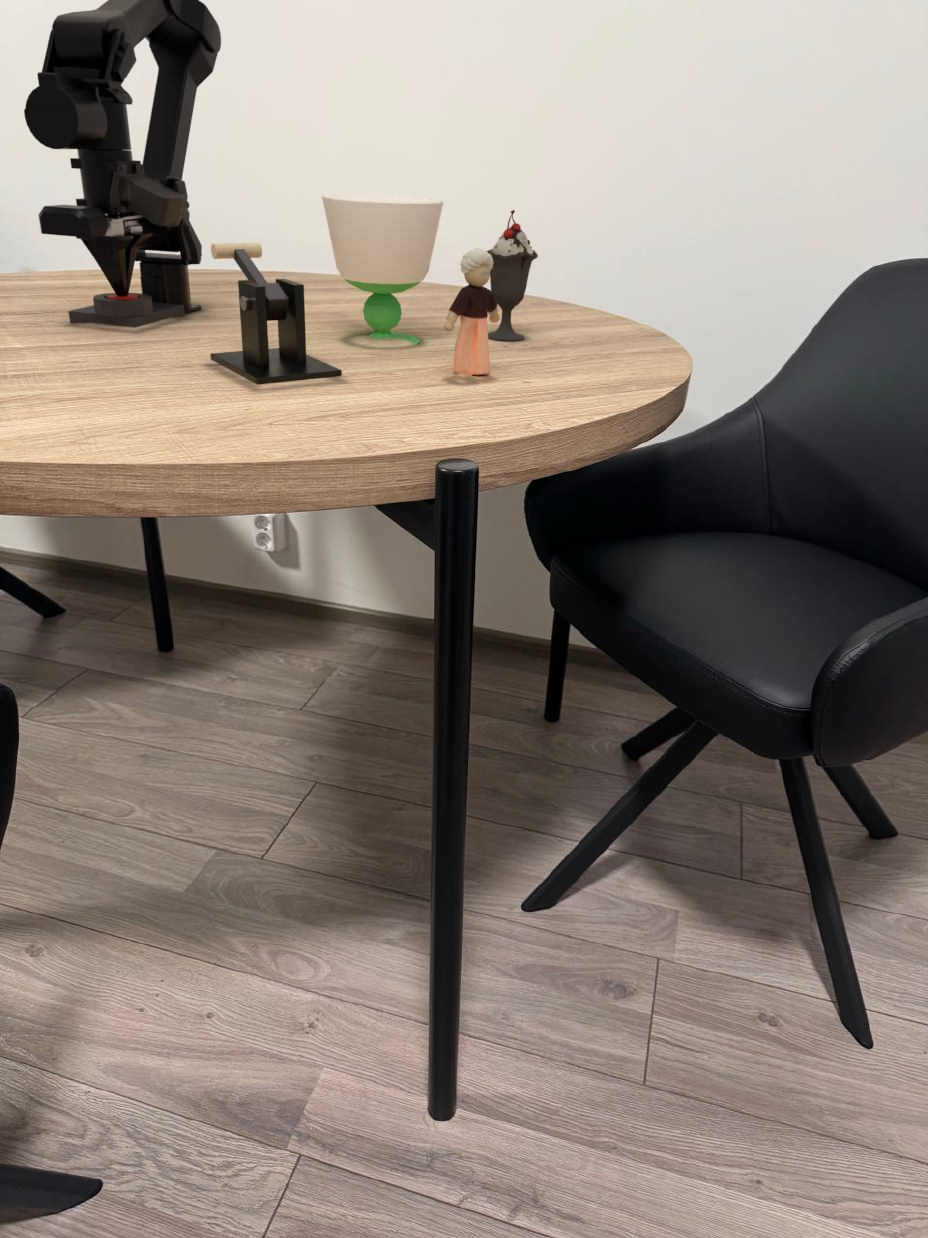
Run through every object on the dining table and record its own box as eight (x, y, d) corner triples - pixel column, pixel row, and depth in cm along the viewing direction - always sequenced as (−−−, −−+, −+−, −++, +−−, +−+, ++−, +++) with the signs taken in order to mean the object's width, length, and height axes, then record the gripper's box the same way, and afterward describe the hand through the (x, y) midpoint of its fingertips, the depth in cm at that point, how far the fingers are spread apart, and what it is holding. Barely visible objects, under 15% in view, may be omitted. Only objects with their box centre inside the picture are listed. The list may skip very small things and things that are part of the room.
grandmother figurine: (468, 388, 91) (475, 252, 85) (436, 381, 93) (440, 248, 87) (506, 375, 97) (514, 247, 91) (475, 369, 99) (482, 243, 93)
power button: (119, 307, 112) (117, 292, 111) (145, 310, 111) (144, 294, 110) (102, 311, 109) (100, 296, 108) (128, 314, 108) (126, 299, 107)
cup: (301, 337, 110) (296, 193, 102) (385, 326, 119) (386, 192, 111) (378, 358, 102) (379, 202, 94) (462, 344, 111) (468, 201, 103)
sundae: (495, 343, 112) (503, 210, 105) (470, 333, 117) (476, 205, 110) (541, 341, 115) (552, 211, 108) (514, 331, 120) (523, 206, 113)
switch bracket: (211, 364, 95) (203, 275, 91) (290, 357, 100) (286, 272, 95) (257, 391, 86) (251, 293, 82) (342, 381, 91) (340, 289, 87)
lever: (209, 257, 94) (211, 236, 92) (255, 256, 96) (258, 235, 94) (251, 322, 89) (254, 300, 87) (298, 319, 91) (302, 297, 89)
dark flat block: (123, 312, 119) (120, 283, 118) (186, 318, 117) (184, 289, 116) (66, 326, 109) (61, 295, 107) (134, 333, 107) (130, 302, 105)
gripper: (118, 153, 92) (137, 313, 99) (211, 153, 108) (221, 291, 115) (24, 147, 94) (49, 304, 102) (128, 148, 110) (143, 283, 118)
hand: (122, 295), depth 109 cm, fingers closed, pressing on power button
